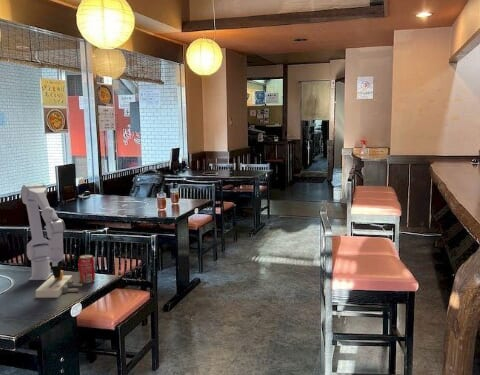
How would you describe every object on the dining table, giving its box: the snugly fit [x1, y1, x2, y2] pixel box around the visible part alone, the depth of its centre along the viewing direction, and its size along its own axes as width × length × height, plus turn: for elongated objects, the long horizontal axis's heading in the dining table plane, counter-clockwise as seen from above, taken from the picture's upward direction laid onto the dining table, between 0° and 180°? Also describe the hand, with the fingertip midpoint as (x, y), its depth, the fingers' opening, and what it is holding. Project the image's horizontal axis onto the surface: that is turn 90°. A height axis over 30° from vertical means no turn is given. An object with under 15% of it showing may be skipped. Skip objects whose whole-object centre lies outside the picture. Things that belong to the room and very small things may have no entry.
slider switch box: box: [35, 274, 73, 299], centre depth 200 cm, size 20×9×3 cm, turn 4°
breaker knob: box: [54, 269, 64, 279], centre depth 205 cm, size 2×3×3 cm
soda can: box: [77, 254, 96, 284], centre depth 210 cm, size 7×7×12 cm
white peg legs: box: [62, 280, 84, 294], centre depth 200 cm, size 9×6×2 cm, turn 4°
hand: (57, 277), depth 202 cm, fingers closed
